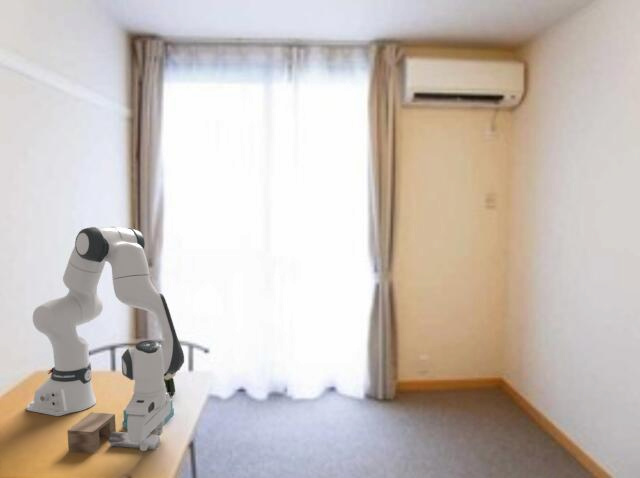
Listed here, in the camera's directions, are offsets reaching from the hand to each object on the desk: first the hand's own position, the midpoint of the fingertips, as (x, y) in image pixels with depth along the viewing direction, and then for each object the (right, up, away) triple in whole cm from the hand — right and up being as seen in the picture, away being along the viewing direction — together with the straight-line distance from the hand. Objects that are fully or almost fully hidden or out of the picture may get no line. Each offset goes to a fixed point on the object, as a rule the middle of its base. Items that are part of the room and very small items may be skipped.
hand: (151, 441), depth 156 cm
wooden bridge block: (-19, -1, +3) cm, 19 cm away
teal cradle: (-7, 0, +17) cm, 18 cm away
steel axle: (-5, 0, +1) cm, 5 cm away
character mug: (-7, +2, +40) cm, 40 cm away
